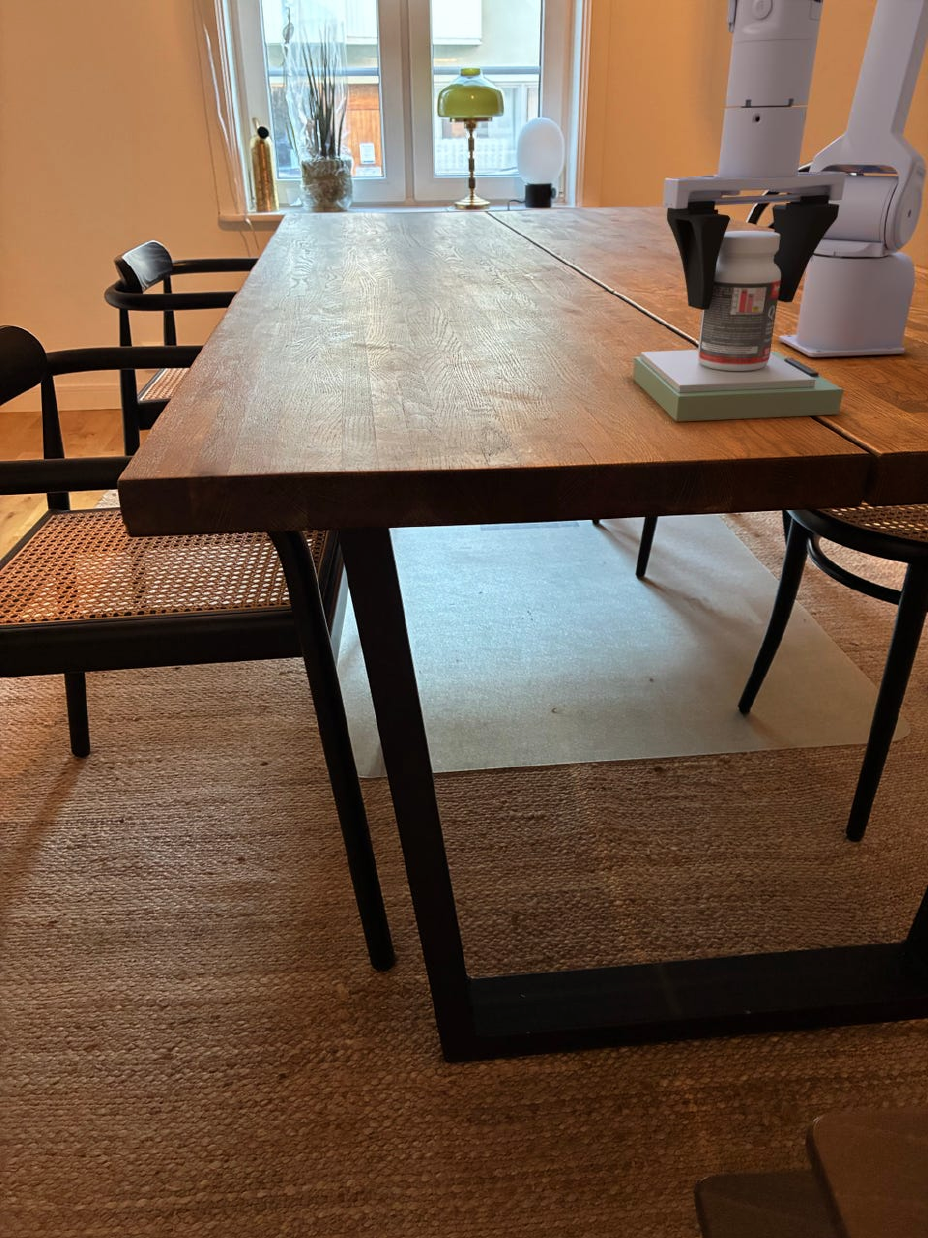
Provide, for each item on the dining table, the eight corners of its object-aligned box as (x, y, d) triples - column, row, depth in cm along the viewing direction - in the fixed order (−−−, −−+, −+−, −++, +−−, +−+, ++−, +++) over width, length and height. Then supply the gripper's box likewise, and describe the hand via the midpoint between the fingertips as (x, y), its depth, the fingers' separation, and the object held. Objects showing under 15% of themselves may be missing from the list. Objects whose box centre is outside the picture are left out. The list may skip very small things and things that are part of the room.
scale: (773, 373, 81) (777, 344, 80) (838, 414, 69) (845, 381, 68) (632, 379, 80) (634, 349, 79) (676, 421, 69) (679, 388, 67)
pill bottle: (777, 372, 71) (798, 237, 66) (707, 373, 71) (722, 239, 66) (755, 355, 76) (773, 228, 71) (689, 356, 76) (702, 230, 71)
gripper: (814, 106, 70) (786, 289, 76) (649, 109, 66) (635, 302, 72) (878, 105, 64) (841, 303, 70) (700, 108, 60) (680, 317, 67)
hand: (740, 303), depth 71 cm, fingers open, 7 cm apart
